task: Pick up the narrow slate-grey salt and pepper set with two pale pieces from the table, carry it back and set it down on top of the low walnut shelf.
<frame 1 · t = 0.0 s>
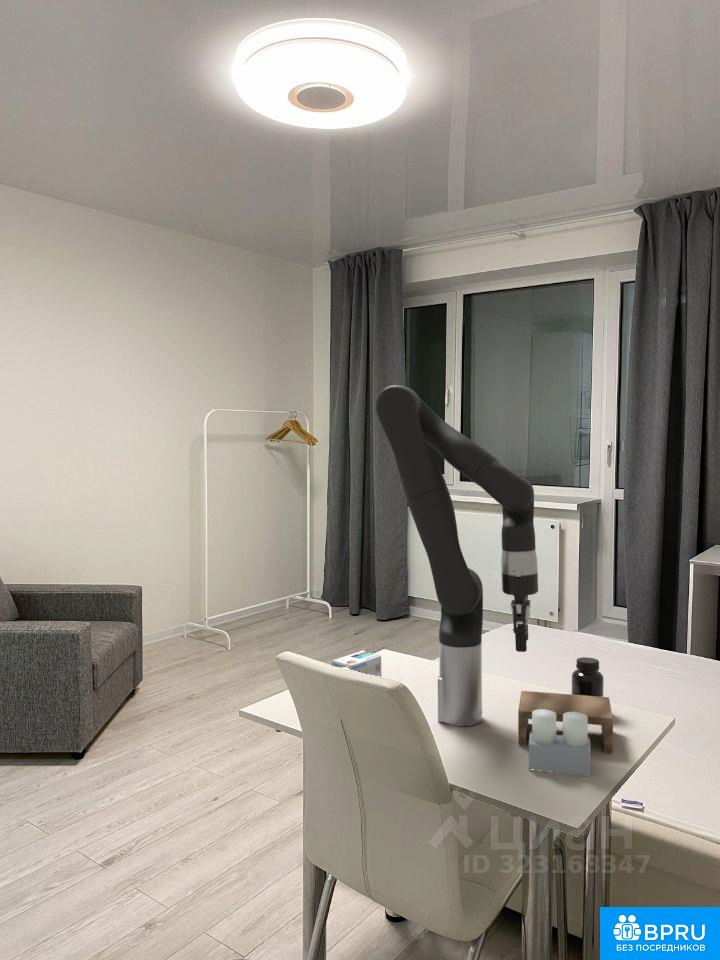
hand: (522, 645, 158), 17 cm above the table, tool pointing down, fingers open, 8 cm apart
light bulb box: (357, 702, 173), on the table
walnut shelf: (564, 737, 151), on the table
supplement bottle: (587, 713, 164), on the table
salt and pepper set: (559, 767, 138), on the table
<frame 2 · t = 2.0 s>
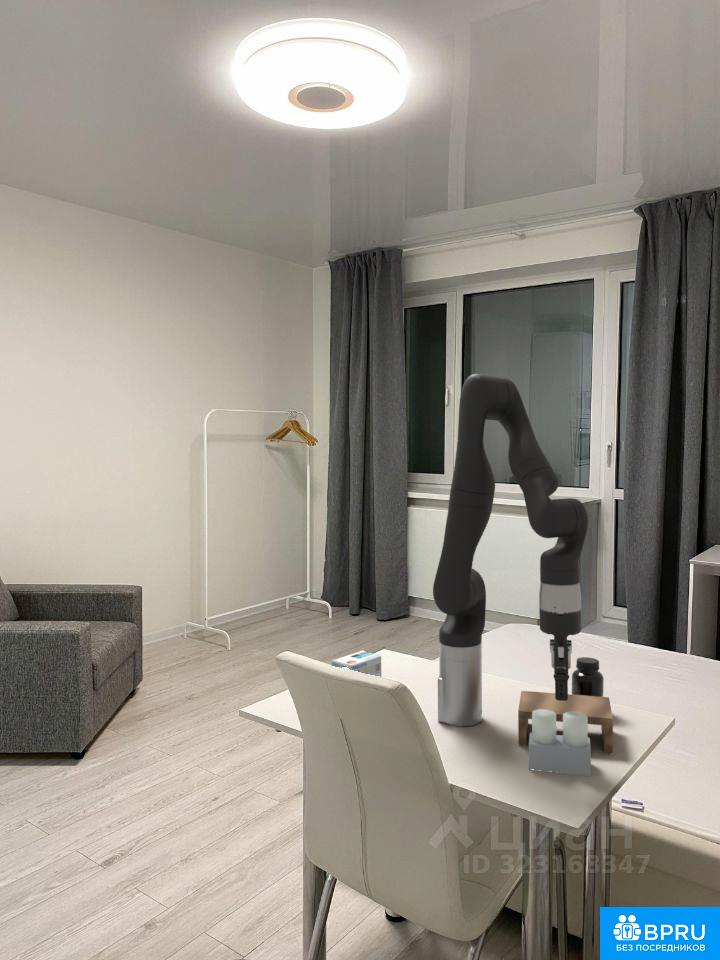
hand: (561, 692, 137), 14 cm above the table, tool pointing down, fingers open, 8 cm apart
nothing on the table moved.
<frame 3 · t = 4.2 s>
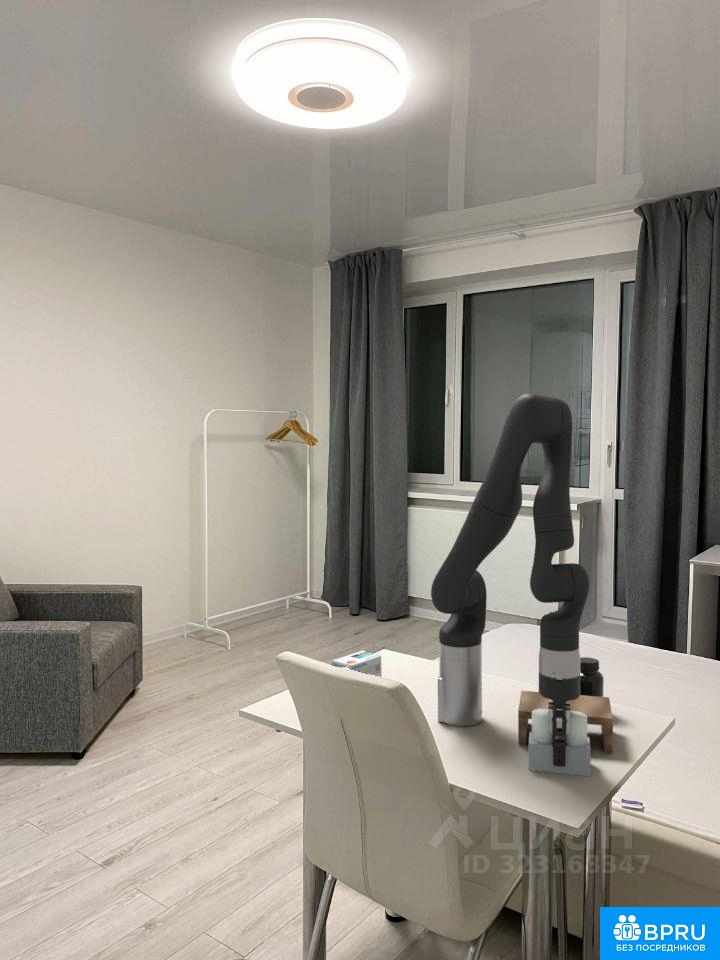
hand: (559, 758, 138), 2 cm above the table, tool pointing down, fingers closed on salt and pepper set, 5 cm apart
salt and pepper set: (559, 766, 138), on the table, touching gripper
everything else where it was.
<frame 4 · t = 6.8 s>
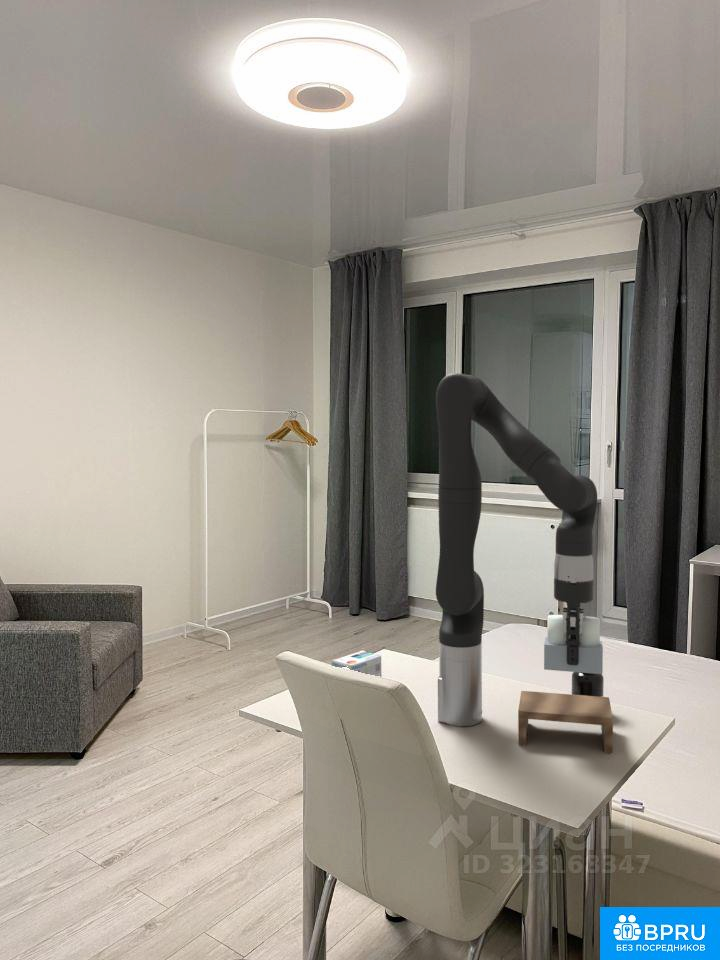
hand: (572, 659, 147), 17 cm above the table, tool pointing down, fingers closed on salt and pepper set, 5 cm apart
salt and pepper set: (573, 667, 147), point 16 cm above the table, touching gripper
everything else where it was.
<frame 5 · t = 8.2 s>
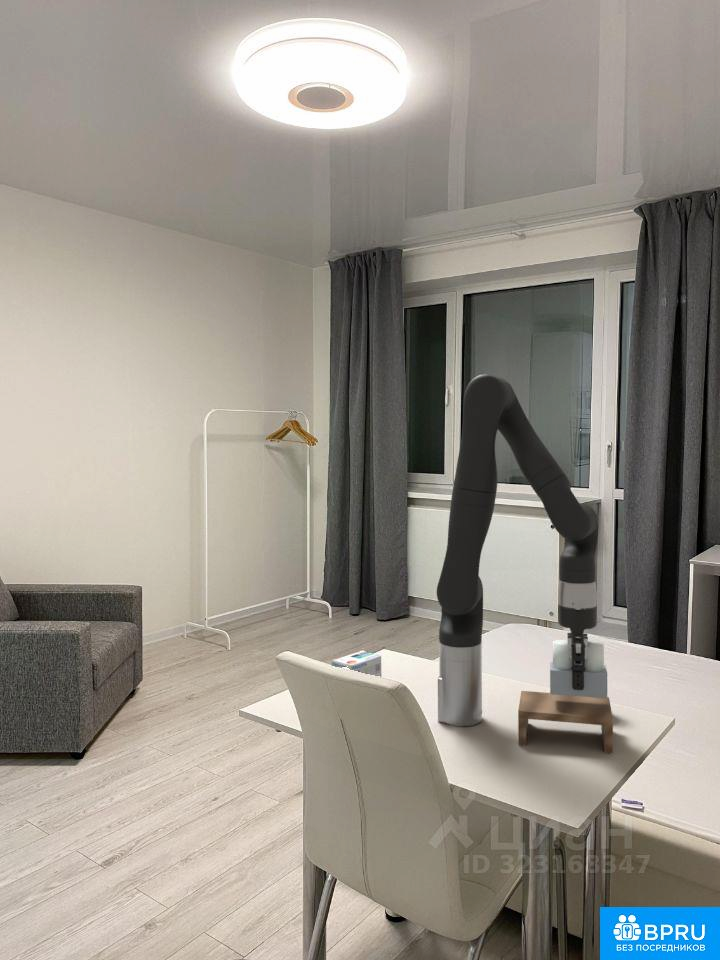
hand: (577, 684, 150), 11 cm above the table, tool pointing down, fingers closed on salt and pepper set, 5 cm apart
salt and pepper set: (578, 691, 150), point 10 cm above the table, touching gripper
everything else where it was.
when the fingers open (10 cm above the table, at t = 9.4 s): salt and pepper set drops 1 cm, resting on walnut shelf.
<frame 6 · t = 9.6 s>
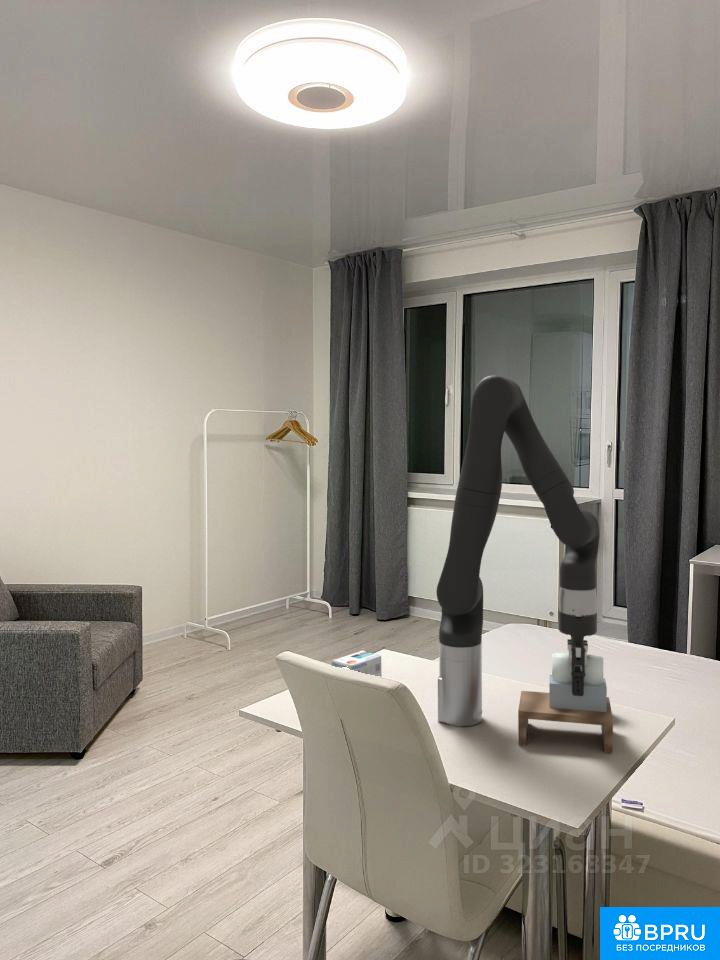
hand: (577, 688, 150), 10 cm above the table, tool pointing down, fingers open, 7 cm apart
salt and pepper set: (577, 704, 150), point 7 cm above the table, touching walnut shelf
everything else where it was.
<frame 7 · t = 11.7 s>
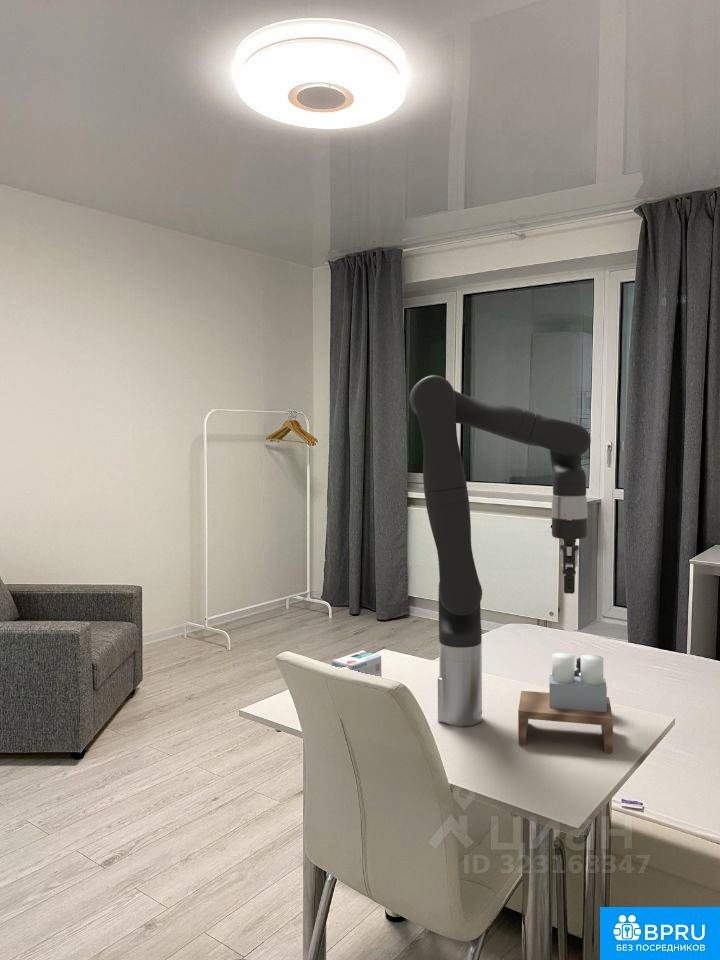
hand: (569, 589, 162), 28 cm above the table, tool pointing down, fingers open, 8 cm apart
nothing on the table moved.
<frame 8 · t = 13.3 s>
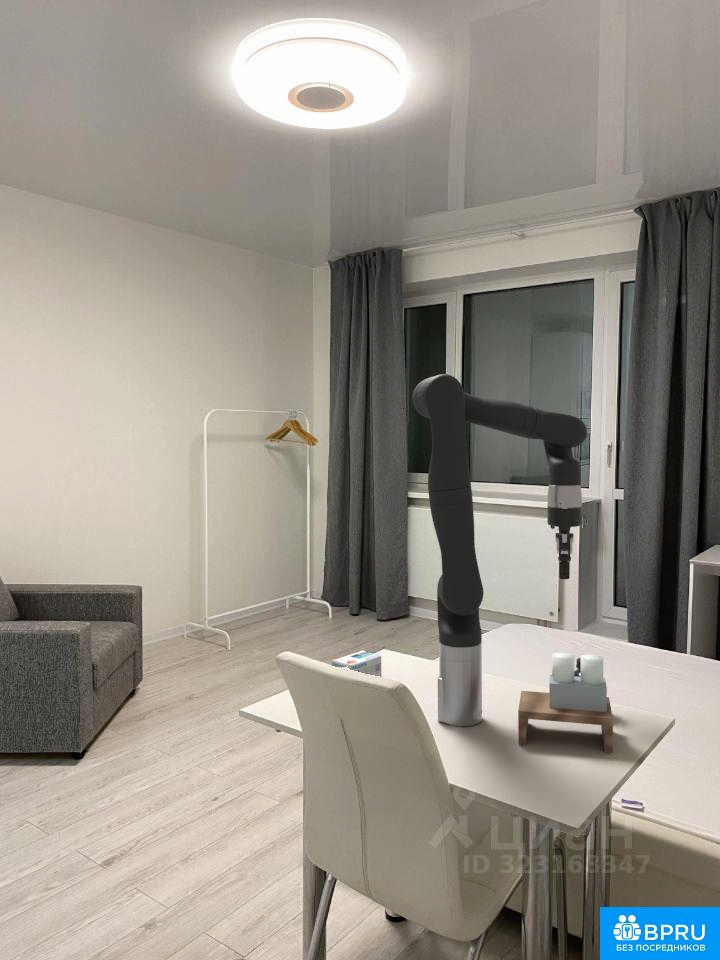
hand: (564, 575, 168), 30 cm above the table, tool pointing down, fingers open, 8 cm apart
nothing on the table moved.
at the end: salt and pepper set inside the target area (0.0 cm from its centre), point 7.0 cm above the table; salt and pepper set tilted 0°; the gripper is holding nothing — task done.
